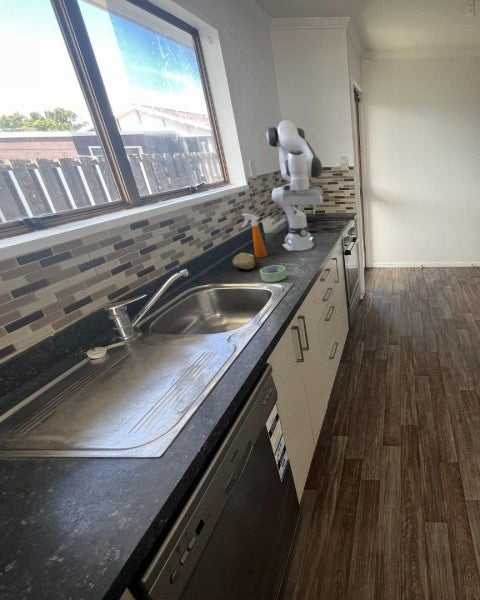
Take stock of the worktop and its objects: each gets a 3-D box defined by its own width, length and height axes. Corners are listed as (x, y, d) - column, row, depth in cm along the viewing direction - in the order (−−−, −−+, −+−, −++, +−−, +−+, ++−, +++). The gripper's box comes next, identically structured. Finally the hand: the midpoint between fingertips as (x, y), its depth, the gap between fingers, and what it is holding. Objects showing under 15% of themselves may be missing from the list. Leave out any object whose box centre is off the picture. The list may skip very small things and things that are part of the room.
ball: (267, 278, 168) (264, 268, 165) (276, 275, 171) (274, 266, 168) (271, 280, 164) (268, 270, 162) (280, 277, 167) (278, 267, 165)
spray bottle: (247, 256, 202) (238, 213, 191) (265, 253, 207) (257, 211, 196) (250, 259, 196) (240, 215, 185) (268, 256, 202) (260, 212, 190)
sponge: (237, 264, 192) (225, 269, 173) (237, 251, 190) (226, 254, 171) (260, 267, 195) (252, 271, 176) (261, 253, 193) (253, 257, 174)
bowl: (257, 278, 168) (255, 269, 166) (279, 272, 175) (278, 263, 173) (268, 285, 160) (266, 275, 158) (291, 278, 168) (289, 269, 165)
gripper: (322, 185, 168) (325, 212, 174) (282, 185, 168) (287, 213, 174) (319, 186, 162) (322, 214, 168) (278, 187, 162) (283, 215, 168)
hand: (304, 213), depth 171 cm, fingers open, 8 cm apart
